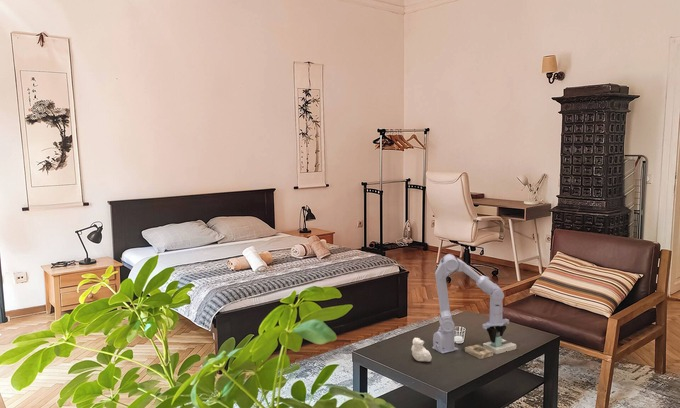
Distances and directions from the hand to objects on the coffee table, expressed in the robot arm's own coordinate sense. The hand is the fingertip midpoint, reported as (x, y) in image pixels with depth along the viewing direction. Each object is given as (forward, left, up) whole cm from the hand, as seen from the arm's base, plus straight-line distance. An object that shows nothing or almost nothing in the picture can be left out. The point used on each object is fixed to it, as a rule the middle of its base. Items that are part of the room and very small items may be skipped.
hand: (495, 341), depth 242 cm
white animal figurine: (-37, +8, -4) cm, 38 cm away
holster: (-10, 0, -4) cm, 11 cm away
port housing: (+2, 0, -4) cm, 5 cm away
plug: (0, 0, -3) cm, 3 cm away
